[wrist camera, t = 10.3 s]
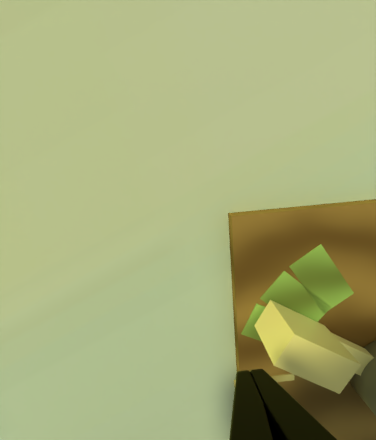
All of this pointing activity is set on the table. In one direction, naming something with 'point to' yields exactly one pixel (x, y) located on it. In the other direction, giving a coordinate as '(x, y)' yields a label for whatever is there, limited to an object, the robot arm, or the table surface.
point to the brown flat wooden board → (308, 294)
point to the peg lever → (317, 352)
